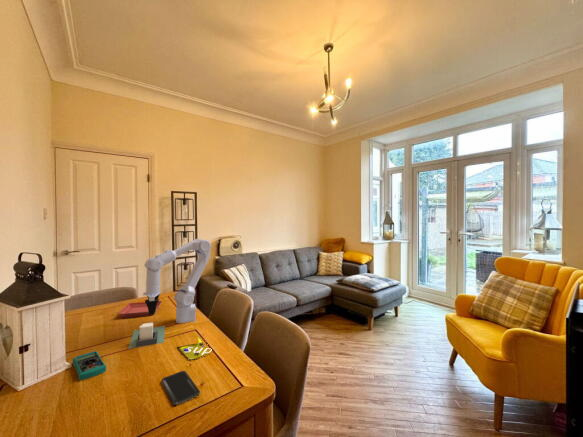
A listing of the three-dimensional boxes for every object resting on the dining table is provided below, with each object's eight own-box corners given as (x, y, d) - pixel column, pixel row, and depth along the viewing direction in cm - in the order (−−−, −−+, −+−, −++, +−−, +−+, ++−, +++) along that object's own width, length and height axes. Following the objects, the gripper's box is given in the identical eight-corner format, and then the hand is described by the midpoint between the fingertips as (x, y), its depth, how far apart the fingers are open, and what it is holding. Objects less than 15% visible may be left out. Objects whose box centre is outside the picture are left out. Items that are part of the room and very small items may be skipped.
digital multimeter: (79, 383, 83) (80, 374, 83) (72, 364, 93) (72, 356, 93) (106, 373, 88) (107, 364, 88) (96, 356, 98) (97, 349, 98)
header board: (165, 327, 124) (165, 321, 124) (163, 344, 107) (164, 337, 107) (134, 332, 118) (134, 326, 118) (128, 351, 102) (128, 343, 102)
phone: (174, 404, 73) (160, 378, 84) (174, 408, 73) (160, 382, 84) (201, 392, 78) (185, 369, 89) (201, 396, 78) (185, 372, 89)
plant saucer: (128, 308, 150) (128, 302, 150) (162, 305, 155) (162, 300, 155) (117, 320, 132) (117, 313, 132) (155, 316, 138) (156, 310, 138)
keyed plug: (152, 338, 111) (153, 322, 111) (152, 342, 107) (152, 326, 107) (140, 340, 109) (140, 324, 109) (139, 344, 105) (139, 327, 105)
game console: (172, 345, 108) (172, 342, 108) (197, 337, 116) (197, 334, 116) (190, 363, 95) (190, 359, 95) (217, 352, 103) (217, 349, 103)
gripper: (145, 280, 124) (144, 307, 124) (141, 287, 111) (141, 318, 111) (161, 279, 127) (160, 305, 127) (159, 286, 114) (159, 316, 114)
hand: (152, 311), depth 119 cm, fingers open, 7 cm apart
